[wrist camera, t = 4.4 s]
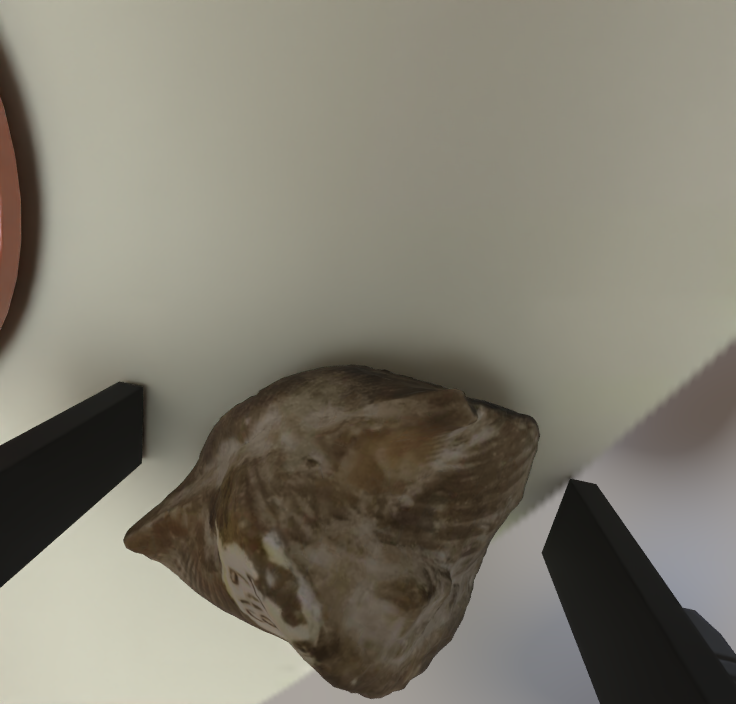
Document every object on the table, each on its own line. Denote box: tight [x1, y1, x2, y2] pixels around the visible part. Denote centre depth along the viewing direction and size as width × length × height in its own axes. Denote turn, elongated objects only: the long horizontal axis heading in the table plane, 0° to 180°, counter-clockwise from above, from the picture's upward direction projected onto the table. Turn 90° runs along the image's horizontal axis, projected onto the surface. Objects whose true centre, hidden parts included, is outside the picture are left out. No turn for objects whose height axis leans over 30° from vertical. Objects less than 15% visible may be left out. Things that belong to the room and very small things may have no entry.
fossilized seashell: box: [124, 365, 540, 699], centre depth 11 cm, size 8×7×10 cm
